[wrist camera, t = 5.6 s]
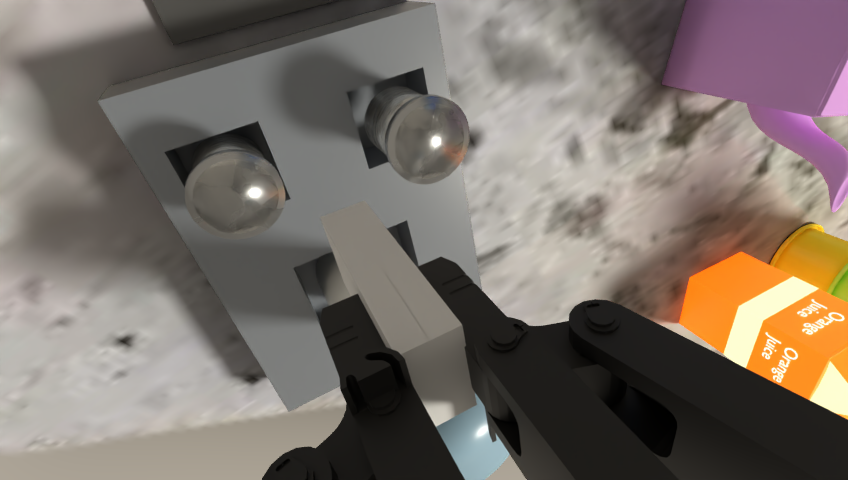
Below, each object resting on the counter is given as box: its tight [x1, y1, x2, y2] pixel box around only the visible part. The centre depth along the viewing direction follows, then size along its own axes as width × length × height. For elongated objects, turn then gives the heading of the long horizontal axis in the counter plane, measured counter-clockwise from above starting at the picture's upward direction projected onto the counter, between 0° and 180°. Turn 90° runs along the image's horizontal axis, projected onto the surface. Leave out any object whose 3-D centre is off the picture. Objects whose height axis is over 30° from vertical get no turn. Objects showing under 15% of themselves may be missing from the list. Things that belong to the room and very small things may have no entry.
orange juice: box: [679, 252, 848, 419], centre depth 48 cm, size 8×9×20 cm
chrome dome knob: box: [185, 133, 285, 239], centre depth 22 cm, size 4×4×4 cm
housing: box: [98, 1, 482, 411], centre depth 28 cm, size 22×16×4 cm
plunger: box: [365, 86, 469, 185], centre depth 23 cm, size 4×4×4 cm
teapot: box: [661, 0, 848, 212], centre depth 32 cm, size 15×25×14 cm, turn 176°
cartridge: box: [316, 251, 510, 480], centre depth 25 cm, size 5×5×16 cm
